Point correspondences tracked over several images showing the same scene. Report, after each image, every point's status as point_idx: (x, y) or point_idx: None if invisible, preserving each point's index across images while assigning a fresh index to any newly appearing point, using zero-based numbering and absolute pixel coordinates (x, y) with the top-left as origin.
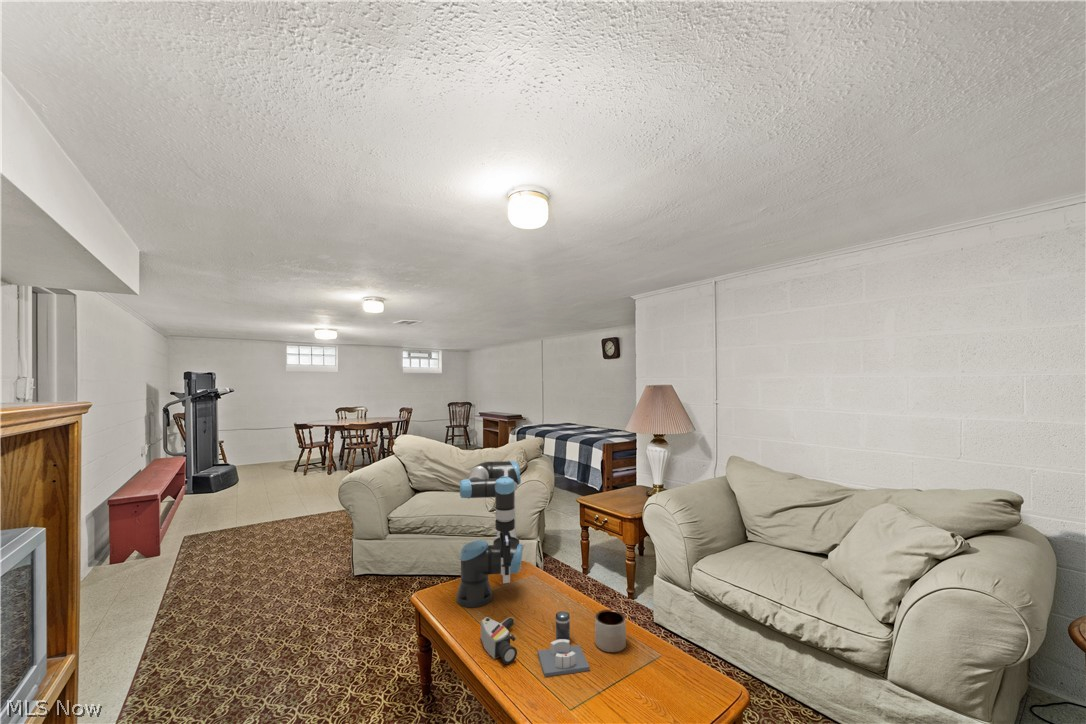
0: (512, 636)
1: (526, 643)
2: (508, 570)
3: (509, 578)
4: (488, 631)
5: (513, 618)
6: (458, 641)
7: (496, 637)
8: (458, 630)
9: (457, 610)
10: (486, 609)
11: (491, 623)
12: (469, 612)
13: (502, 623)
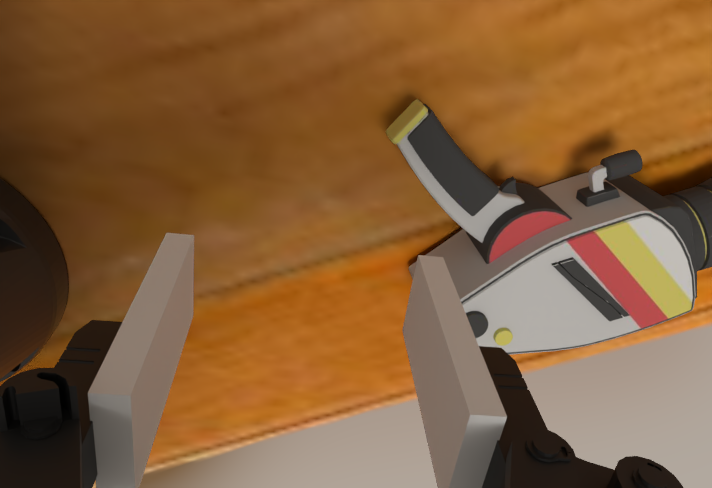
0: (627, 171)
1: (601, 51)
2: (532, 402)
3: (451, 292)
4: (594, 333)
5: (425, 112)
6: (407, 389)
7: (673, 299)
8: (307, 382)
9: None
10: (103, 214)
11: (520, 306)
12: (124, 314)
13: (464, 205)
